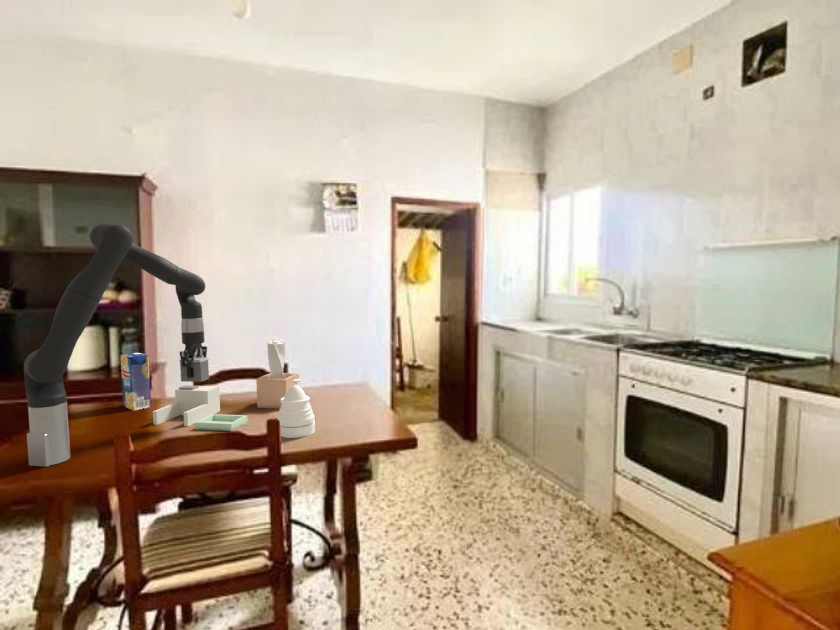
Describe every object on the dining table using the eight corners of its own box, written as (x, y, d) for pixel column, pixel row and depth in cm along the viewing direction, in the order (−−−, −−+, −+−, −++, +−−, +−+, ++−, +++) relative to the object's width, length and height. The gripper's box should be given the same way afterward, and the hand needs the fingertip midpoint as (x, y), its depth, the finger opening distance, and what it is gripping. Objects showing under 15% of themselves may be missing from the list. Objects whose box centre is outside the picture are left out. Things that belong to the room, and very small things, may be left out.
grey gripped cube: (201, 381, 184) (200, 360, 183) (180, 381, 185) (179, 359, 184) (209, 378, 189) (208, 357, 188) (189, 378, 190) (188, 357, 189)
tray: (231, 431, 178) (231, 424, 178) (195, 429, 180) (195, 422, 180) (247, 422, 189) (247, 415, 189) (213, 420, 191) (212, 414, 191)
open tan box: (286, 408, 207) (286, 379, 206) (257, 407, 210) (256, 378, 209) (299, 400, 220) (298, 373, 219) (271, 399, 222) (270, 372, 221)
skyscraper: (286, 405, 211) (284, 338, 208) (266, 405, 211) (264, 338, 208) (290, 400, 219) (289, 336, 217) (272, 400, 219) (270, 336, 217)
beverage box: (140, 402, 219) (137, 352, 217) (151, 407, 212) (148, 355, 210) (123, 406, 214) (120, 354, 212) (133, 410, 207) (130, 357, 205)
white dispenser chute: (187, 426, 184) (186, 397, 183) (153, 424, 187) (152, 395, 186) (220, 410, 205) (219, 384, 204) (188, 409, 207) (187, 383, 206)
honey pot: (286, 425, 184) (285, 376, 183) (320, 427, 182) (319, 377, 180) (270, 436, 171) (268, 384, 170) (306, 438, 169) (305, 385, 168)
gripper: (190, 332, 178) (193, 380, 179) (213, 328, 192) (215, 372, 193) (171, 332, 179) (173, 380, 180) (194, 328, 193) (196, 372, 194)
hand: (195, 376), depth 187 cm, fingers closed on grey gripped cube, 5 cm apart
